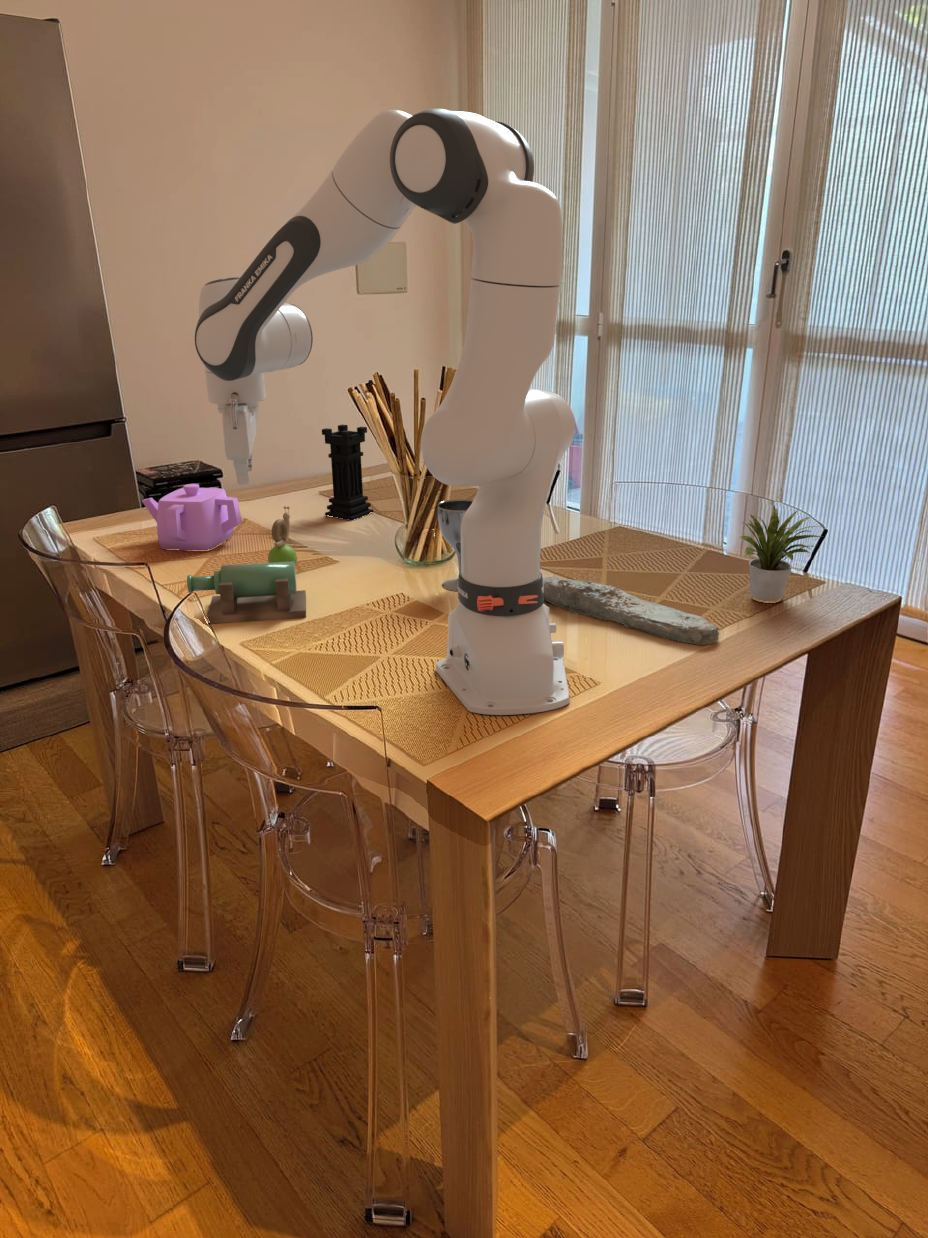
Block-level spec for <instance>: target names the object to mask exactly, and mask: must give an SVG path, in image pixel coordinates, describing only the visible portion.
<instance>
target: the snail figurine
mask: <svg viewBox="0 0 928 1238" xmlns="http://www.w3.org/2000/svg"><path fill="white" fill-rule="evenodd" d="M283 509H284V513H283V514H282V519H280V518H278V519H276V520H275V521H274V522H273V524H272V525H271V538H272V539H273V541H274V546H273V547H272V548H271V549H270V551H269V552H268V555H267V561H268V562H267V563H273V562H290V561H294V563H295V566H296V564H297V563H298V556H297V552H296V550H295V549H294V548H293V547H292V546H291V545H288V544H286V543H287V541H288V539H289V535H290V529H291V528H290V525H291V524H290V523H291V522H290V517H291V516H290V506H286V505H285V506H283ZM286 509H287V510H288V512H286V511H287V510H286Z"/></svg>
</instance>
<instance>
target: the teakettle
mask: <svg viewBox="0 0 928 1238" xmlns="http://www.w3.org/2000/svg"><path fill="white" fill-rule="evenodd" d="M227 495H228V494H227V493H226V489H224V488H219V487H215V486H214V487H211V486H210V487H200V485H199V483H188V484H185V485H183V486H182V487H180V488H177V489H176V490H174V491H172V492H170V493H168V494H166V495H164V496H162V497H161V498H159V500H158V502H157V501H156V500H155V499H154V498H153V497H149V498H148V497H147V498H144V499H142V500H141V502H142V504H143V505H144V506H145V508H146V510H147V511H148V512H149V514H150V515H151V516H152V518H153V519H154V521H155V522H156V530H157V533H156V534H157V540H158V543H159V545H160V548H161V549H162V548H163V549H179V550H208V549H212V548H214V547H216V546H217V545H219V544H220V543H222V542H224V541H225V540H226V539H227V538H229V537H230V536H231V535H232V533H233V534H234V529H235V528H236V527H238V526H239V525H241V524H242V523H243V519H242V515H241V509H240V505H239V500H238V497H231V496H227ZM232 536H233V535H232ZM163 549H162V550H163Z"/></svg>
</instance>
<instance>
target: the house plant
mask: <svg viewBox="0 0 928 1238" xmlns="http://www.w3.org/2000/svg"><path fill="white" fill-rule="evenodd" d="M798 511H799V509H797V510H795V511H794V512H793V513H791V515H789V517H788V518H786V519H785V520H784V521H783V523H782V524H780V518H779V510H778V508H776V505H774V506H773V509H772V512H771V516H770V520H769V522H768V523H769V524H768V527H767V525H766V523H765V522H764V520H763V519H762V518H761V517H759V516H755V515H752V514H750V513H749V515H750V517H751V519H752V520H753V521H752V520H750V519H748V518H747V520H748V521H749V522H745V521H742V520H741V523H742V524H744V525H745V526H746V527H747V528H748V530H750V532H751V533H752V535H753V536H754V538H755V539H753V537H751V536H749V535H741V536H739V538H740V539H742V540H744V541H745V542H747V543H749V544H751V545H752V546H753V547H754V548H753V547H750V546H747V547H746V548H745V551H744V553H743V554H745V555H744V556H743V558H745V557H746V556H750V555H756V556H757V557H758V558H753V559H750V561H748V573H749V591H750V597H751V596H752V597H753V598H756V599H758V600H763V601H776V600H779V599H781V598H782V597H784V594H785V592H786V589H787V586H788V585H787V584H788V582H789V580H790V579H789V578H790V575H791V571H792V569H793V565H792V564H791V563H790V562H788V561H786V559H787V558H788V559H790V560H791V561H793V560H794V555H793V554H794V553H808V554H810V555H812V553H811V552H810V551H808V549H809V550H811V551H812V549H811V548H810V547H816V546H814V545H805V544H802V543H799V544H798V543H797V544H793V545H790V544H791V543H794V542H796V541H799V540H803V539H809V538H822V537H824V536H822V535H814V534H801V533H806V532H813V531H812V530H807V529H811V528H821V527H822V526H819V525H817V526H815V525H814V526H813V525H812V526H805V527H801V525H802V524H803V522H806V520H808V519H810V518H811V516H808V517H804V518H802V519H800V520H798V521H796V522H795V523H794V524H793V525H791V527H788V525H789V523H790V522H791V520H792V519H793V518H794V516H795V515H796V514H797V512H798ZM757 518H758V519H759V520H760V521H761V522H762V524H763V526H762V525H761V523H760V522H759V520H758V519H757ZM763 527H764V529H765V532H764V529H763ZM800 527H801V528H800ZM799 528H800V529H799ZM752 529H753V530H752ZM804 529H806V530H804ZM798 531H799V532H798ZM754 532H755V533H754ZM796 532H797V533H796ZM765 533H766V534H765ZM794 533H796V534H794ZM793 534H794V535H793ZM799 534H801V535H799ZM792 535H793V536H792ZM790 536H791V537H790ZM797 547H799V548H797ZM793 548H795V549H793ZM805 548H807V549H805ZM755 552H756V553H755ZM782 599H783V598H782Z"/></svg>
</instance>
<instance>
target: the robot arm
mask: <svg viewBox="0 0 928 1238" xmlns="http://www.w3.org/2000/svg"><path fill="white" fill-rule="evenodd" d="M534 162H535V160H534V156H533V152H532V149H531V147H530V145H529V143H528V141H527V140H526V139H525V137H524V136H523V135H522V134H521V133H520V132H519V131H518V130H516V129H515V128H514V127H512V126H511V125H509V124H507V123H504V122H501V121H494V120H492V119H489V118H486V117H485V116H482V115H481V114H478V113H475V112H470V111H463V110H461V111H460V110H459V111H458V110H449V109H445V108H430V109H426V110H422V111H420V112H417V113H415V114H413V115H412V114H410V113H407V112H406V111H402V110H400V109H399V110H398V109H386V110H385V109H384V110H382V111H381V112H379V113H377V114H376V115H375V116H374V117H372V118H371V120H369V122H368V123H367V124H365V126H364V127H363V128H362V129H361V130H360V131H359V133H358V134H357V135H356V136H355V137H354V138H353V139H352V140H351V142H350V144H348V146H347V147H346V149H345V150H344V151H343V152H342V154H341V155H340V156H339V158H338V160H337V162H335V164H334V166H333V168H332V169H331V170H330V172H329V173H328V175H327V176H326V178H325V179H324V180H323V181H322V184H320V186H319V187H318V188H317V190H316V191H315V193H313V195H312V196H311V197H310V198H309V199H308V201H307V202H306V203H305V204H304V205H303V206H302V207H301V209H300V210H299V211H297V213H296V214H294V215H293V216H292V217H291V218H290V219H289V220H288V221H286V223H284V225H282V226H281V228H279V229H278V231H276V233H275V234H274V235H273V236H272V237H271V238H270V239H269V241H268V242H267V243H266V244H265V246H264V247H263V248H262V250H260V252H259V253H258V254H257V256H256V257H255V258H254V260H253V261H252V262H251V264H249V266H247V267H248V268H246V270H245V271H244V272H243V274H241V276H239V277H237V276H236V277H235V276H234V277H227V278H219V279H215V280H211V281H208V282H207V283H205V284H204V285H203V286H202V287H201V288H200V294H199V299H198V301H199V302H198V316H199V317H198V318H199V319H198V320H197V323H196V327H195V330H194V345H195V350H196V353H197V355H198V357H199V359H200V361H201V363H202V364H203V365H204V374H205V382H206V389H207V390H206V391H207V399H208V403H210V404H216V406H217V413H219V414H221V415H222V419H221V420H222V421H221V423H222V432H223V444H224V452H225V457H226V459H227V460H228V461H233V467H234V470H235V474H236V475H235V476H236V482H237V484H238V485H241V486H242V485H248V484H249V483H250V474H249V472H251V471H252V470H253V468H254V467H253V449H254V445H255V442H256V438H257V433H258V411H260V406H259V403H261V402H263V401H265V400H267V392H266V382H265V373H266V374H267V373H272V372H277V371H282V370H288V369H292V368H295V367H297V366H300V365H302V364H304V363H305V362H306V361H307V360H308V357H310V355H311V351H312V348H313V330H312V326H311V325H312V324H311V323H310V320H309V319H308V317H307V315H306V313H305V312H304V311H303V310H302V309H301V308H300V307H298V306H297V305H295V304H293V303H287V302H286V301H288V299H290V297H291V296H292V294H293V293H294V292H295V291H296V290H297V289H299V288H300V287H301V286H302V285H304V284H306V283H307V282H309V281H310V280H313V279H315V278H317V277H320V276H323V275H325V274H328V273H331V272H336V271H339V270H342V269H345V268H349V267H355V266H358V265H362V264H364V263H366V262H369V261H370V260H372V259H373V258H374V257H376V256H377V255H379V253H380V252H381V251H382V250H383V249H385V248H386V247H387V245H389V244H390V243H391V242H392V240H393V239H394V237H395V236H396V235H397V233H398V232H399V231H400V229H401V228H402V227H403V225H404V224H405V223H406V221H407V219H408V218H409V216H410V215H411V214H412V212H413V211H414V209H415V208H416V207H419V208H420V209H423V210H424V211H427V212H429V213H431V214H433V215H436V216H437V217H439V218H440V219H443V220H445V221H447V222H449V223H450V224H453V225H455V224H456V225H457V224H459V223H461V222H464V223H465V224H466V226H467V227H468V229H469V230H470V231H469V232H470V233H471V238H472V263H471V275H470V277H471V278H470V287H469V299H468V310H467V321H466V329H465V330H466V331H465V337H464V344H463V347H462V351H461V354H460V357H459V358H460V359H459V362H458V364H457V368H456V370H455V372H454V376H453V378H452V380H451V383H450V385H449V388H448V390H447V392H446V394H445V396H444V398H443V400H442V401H441V403H440V405H439V406H438V407H437V409H436V410H434V412H433V413H432V414H431V416H429V418H428V419H427V420H426V422H425V424H424V426H423V428H422V432H421V435H420V436H421V437H420V450H421V456H422V459H423V461H424V463H425V466H426V469H427V470H428V472H429V473H430V474H431V475H432V476H433V477H434V478H435V479H436V480H437V481H438V482H440V483H442V484H444V485H446V486H450V487H452V486H453V487H478V489H477V491H476V494H475V497H474V499H472V500H473V502H472V504H471V505H470V507H469V508H468V509H467V511H466V512H465V514H464V516H463V519H462V522H461V572H460V573H459V572H458V576H457V578H458V583H457V589H458V591H457V597H458V604H457V605H456V606H455V608H453V610H452V611H450V613H449V614H448V616H447V643H446V644H447V645H446V646H447V647H446V649H447V651H446V652H447V653H446V657H445V658H443V659H440V660H438V661H437V662H436V663H435V671H436V673H437V674H438V675H439V676H440V678H441V679H442V680H443V681H444V683H445V684H446V685H447V687H448V688H449V689H450V690H451V691H452V693H453V694H454V695H455V697H457V699H458V700H459V701H460V703H461V704H462V705H463V706H464V708H466V710H467V711H468V712H470V713H475V714H480V715H490V716H511V715H523V714H524V715H525V714H536V713H541V712H542V713H543V712H547V711H551V710H556V709H559V708H561V707H565V706H567V705H569V704H570V701H571V699H570V692H569V686H568V685H569V684H568V679H567V673H566V668H565V663H564V662H565V660H564V656H565V655H564V654H565V650H564V649H565V648H564V647H565V646H564V645H565V644H564V641H562V640H554V641H553V640H552V634H557V624H556V623H554V622H553V623H552V622H551V623H550V607H549V606H547V605H546V604H545V599H544V593H543V592H544V584H543V574H542V572H541V547H542V545H541V543H542V527H543V518H544V514H545V509H546V505H547V502H548V501H547V500H548V497H549V494H550V490H551V487H552V485H553V481H554V477H555V475H556V471H557V468H558V467H559V464H560V462H561V460H562V458H563V457H564V455H565V454H566V452H567V450H568V449H569V448H570V446H571V445H572V443H573V441H574V438H575V430H576V421H575V417H574V413H573V410H572V408H571V407H570V405H569V404H568V402H567V401H566V400H565V399H564V398H563V397H562V396H561V395H559V394H558V393H555V392H552V391H549V390H543V389H537V388H531V387H532V386H531V385H532V384H533V381H534V379H535V376H536V375H537V373H538V371H539V369H540V368H541V366H542V365H543V364H544V363H545V361H546V360H547V359H548V357H550V355H551V353H552V351H553V348H554V343H555V333H556V325H557V324H556V323H557V316H558V308H559V307H558V306H559V299H560V290H561V280H562V279H561V278H562V271H563V270H562V268H563V222H562V221H563V220H562V208H561V203H560V202H559V200H558V197H557V196H556V195H555V193H553V192H552V191H551V190H550V189H548V188H547V187H545V186H544V185H542V184H539V183H538V182H537V183H536V182H533V180H534V174H535V163H534Z"/></svg>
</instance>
